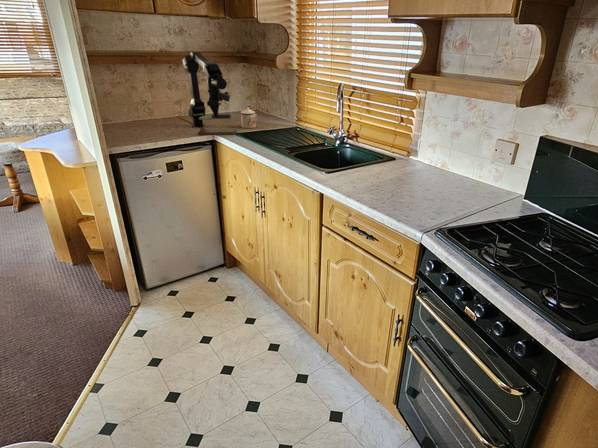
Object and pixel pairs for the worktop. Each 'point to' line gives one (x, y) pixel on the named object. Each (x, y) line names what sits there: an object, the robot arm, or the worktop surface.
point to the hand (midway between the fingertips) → (216, 116)
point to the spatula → (221, 116)
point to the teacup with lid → (248, 118)
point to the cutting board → (217, 132)
